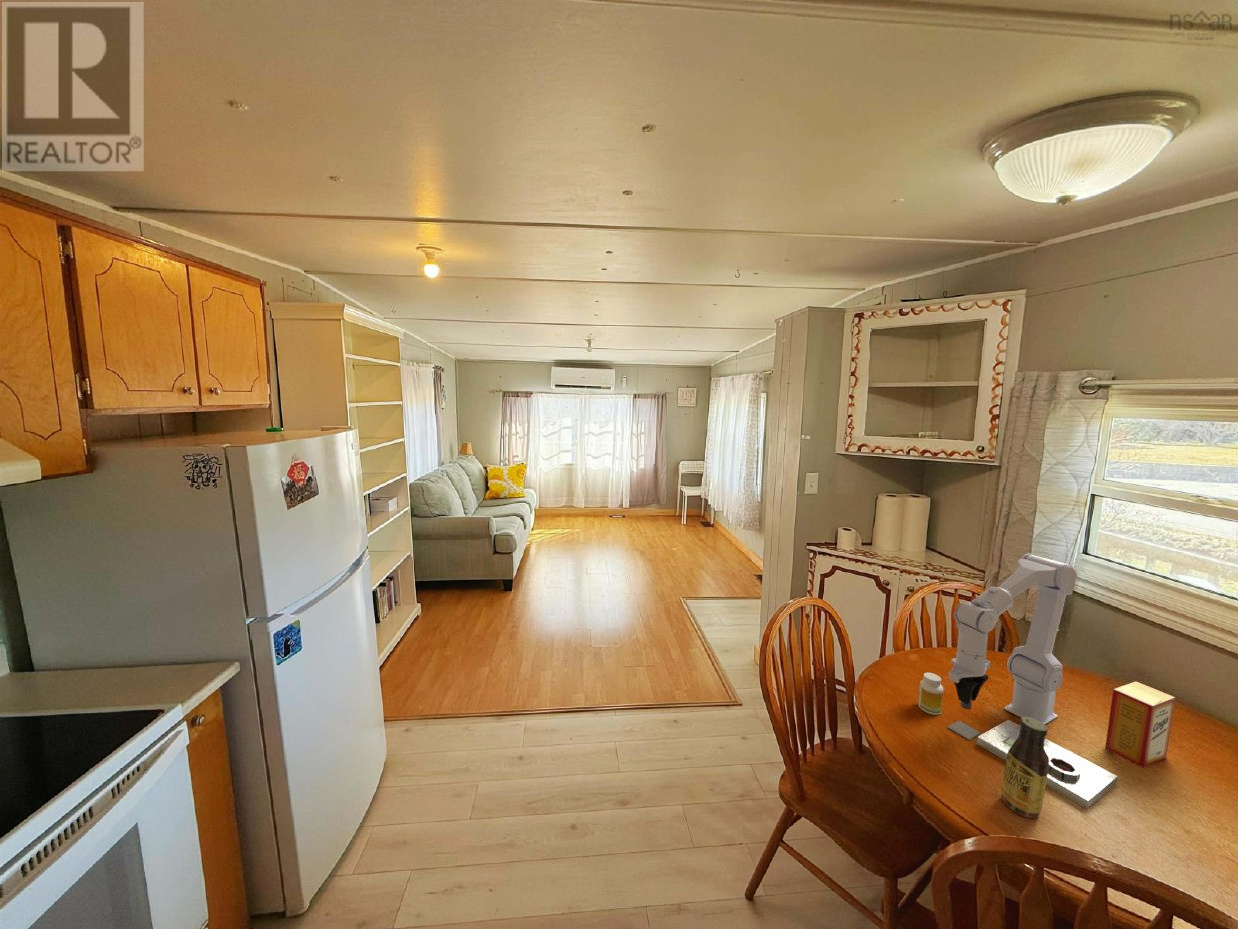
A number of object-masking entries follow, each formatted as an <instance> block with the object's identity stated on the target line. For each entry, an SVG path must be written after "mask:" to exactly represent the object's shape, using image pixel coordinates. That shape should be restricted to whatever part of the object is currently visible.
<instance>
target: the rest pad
mask: <svg viewBox="0 0 1238 929" xmlns="http://www.w3.org/2000/svg"><path fill="white" fill-rule="evenodd" d="M947 729H949V730H951V731H952V732H954V733H955V734H957V735H959V736H961V737H963V738H964V739H966V740H967V741H971V740H973V739H975V738H978V736H980V735H982V734H981V732H979V731H978V730H976V729H974V728H973V727H971V726H969V725H967V724H966V723H964V722H962V721H961V720H957V721H956V722H955V721H954V722H953V723H952V724H950V725H947Z"/></svg>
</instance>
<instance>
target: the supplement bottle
mask: <svg viewBox="0 0 1238 929" xmlns="http://www.w3.org/2000/svg"><path fill="white" fill-rule="evenodd" d="M922 678H923V679H922V680H920V681H919V690H918V702H917V703H918V707H919V709H920V710H922V712H925V713H926V714H930V715H933V716H938V715H941V714H942V712H943V701H944V700H943V699H944V687H943V685H942V678H941V677H940V676H939V675H937V674H935V673H933V672H925V673H923V677H922Z"/></svg>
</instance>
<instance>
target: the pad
mask: <svg viewBox="0 0 1238 929" xmlns="http://www.w3.org/2000/svg"><path fill="white" fill-rule="evenodd" d="M1014 742H1015V741H1014V740H1012V739H1008V740H1006V741H1005V743H1006V744H1008V745H1009V746H1012V745H1013V743H1014Z"/></svg>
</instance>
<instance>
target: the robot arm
mask: <svg viewBox="0 0 1238 929" xmlns="http://www.w3.org/2000/svg"><path fill="white" fill-rule="evenodd" d="M1015 565H1016V566H1015V569H1016V570H1015V571H1014V572H1012V573H1011V575H1009V577H1008V578H1007V579H1006V580H1004V581H1003V582H1002V583H1001V585H999V586H990V587H988V588H987V589H986V590H984V591H983V592H982V593H980V594H979V595H978V596H976V597H975V598H974V599H972V601H967V602H966V601H964V602H961V603H959V604H958V605H957V606H956V607H955V611H954V612H953V616H954V619H955V621H956V628H957V629H958V637H957V647H956V650H957V651H956V657H954V658H951V660H950V663H951V664H953V666H952V668H951V670H950V671H949V672H948V680H949V681H952V682H953V683H954V685H955V689H956V692H957V693H956V694H957V698H958V700H959V701H960V702H961V701H962V702H964V703H966V704H969V702H970V700H971V696H972V702H973V701H976V699H977V698H978V695H979V694H980V691H981V689H982V687H983V686H984V684H985V683H986V682H987V681H988V680H989V675H987V673H986V672H987V670H989V669H990V667H991V661H989V660H987V659H986V658H987V648H988V639H989V638H988V636H989V633H990V632H991V631H993V629H994V628H995V626H996V623H997V622H998V621H999V619H1000V616H1001V615H1002V614H1003V613H1005V612H1006V611H1007V610H1009V609H1010V608H1012V607H1013V605H1014V598H1016V597H1017V596H1018V595H1020V594H1022V593H1023V592H1025V591H1027V590H1028V589H1030V588H1031V587H1033V586H1035V587H1036V589H1037V591H1038V596H1037V598H1036V603H1035V606H1034V611H1033V615H1032V617H1031V618H1032V619H1031V622H1030V627H1029V630H1028V635H1027V637H1026V638H1027V639H1026V643H1025V645H1019V646H1016V647H1014V648H1013V650H1012V652H1011V654H1010V656H1009V657H1008V659H1007V663H1006V664H1007V665H1006V666H1007V670H1008V672H1009V673H1011V678H1012V679H1014V684H1013V693H1012V701H1011V703H1010V704H1008V705H1006V706H1004V710H1005V711H1007V712H1008V713H1009V712H1010V713H1011V714H1013V715H1015V716H1017V717H1019V718H1020V719H1021V718H1022V717H1031V718H1034V719H1037V720H1039V721H1040V722H1042V723H1044V724H1045V725H1047V724H1049V723H1050V722H1051V721H1053V720H1055V719H1056V718H1058V717H1059V715H1058V714H1056V713H1054V709H1055V703H1056V702H1055V701H1056V691H1058V690H1059V689H1060V688H1061V687H1062V684H1063V681H1064V680H1063V679H1064V678H1063V677H1064V676H1063V664H1062V663H1061V662H1060V661H1059V660H1058V658H1056V657H1055V655H1054V654H1053V649H1054V644H1055V640H1056V637H1057V634H1058V630H1059V626H1060V621H1061V618H1062V612H1063V611H1064V610H1063V609H1064V606H1065V602H1066V598H1067V596H1072V595H1073V591H1074V590H1075V586H1076V582H1077V576H1078V573H1077V571H1076V569H1075V568H1074V566H1073V565H1072V564H1069V563H1063V562H1059V561H1056V560H1053V559H1049V558H1045V557H1043V556H1038V555H1034V554H1032V553H1024V554H1023V555H1021V557H1020V558H1019V559H1018V560H1017V562H1016V564H1015ZM971 677H972V678H973V680H972V679H971Z"/></svg>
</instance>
